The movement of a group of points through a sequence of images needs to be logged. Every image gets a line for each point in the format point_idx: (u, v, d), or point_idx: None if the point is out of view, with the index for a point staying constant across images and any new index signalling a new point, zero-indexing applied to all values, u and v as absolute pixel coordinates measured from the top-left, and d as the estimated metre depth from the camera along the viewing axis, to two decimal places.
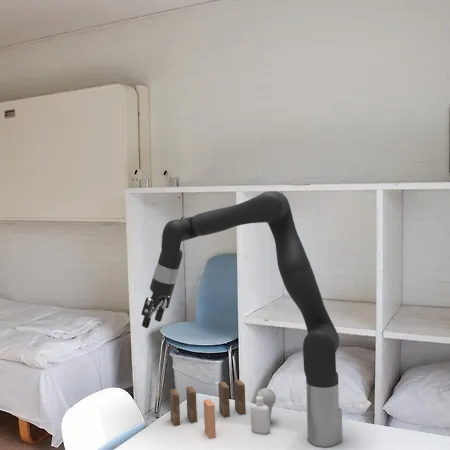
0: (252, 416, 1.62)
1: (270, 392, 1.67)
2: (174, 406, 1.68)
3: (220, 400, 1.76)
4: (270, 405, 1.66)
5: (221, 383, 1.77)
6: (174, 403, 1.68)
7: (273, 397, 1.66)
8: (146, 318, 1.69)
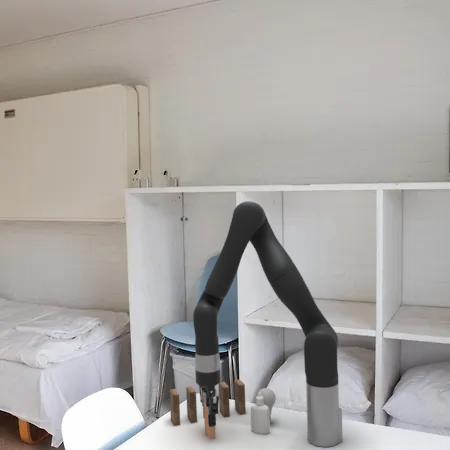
0: (252, 416, 1.62)
1: (270, 392, 1.67)
2: (174, 406, 1.68)
3: (220, 400, 1.76)
4: (270, 405, 1.66)
5: (221, 383, 1.77)
6: (174, 403, 1.68)
7: (273, 397, 1.66)
8: (213, 416, 1.58)
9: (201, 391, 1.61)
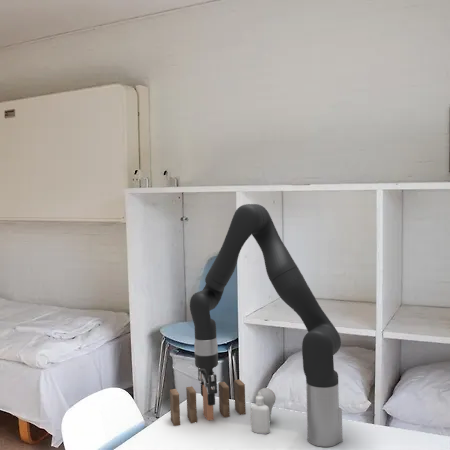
0: (252, 416, 1.62)
1: (270, 392, 1.67)
2: (174, 406, 1.68)
3: (220, 400, 1.76)
4: (270, 405, 1.66)
5: (221, 383, 1.77)
6: (174, 403, 1.68)
7: (273, 397, 1.66)
8: (212, 395, 1.69)
9: (200, 374, 1.74)
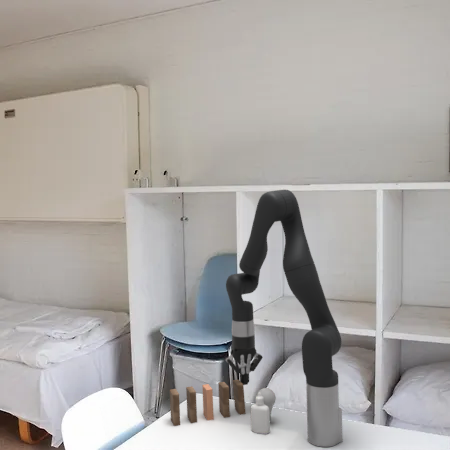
0: (252, 416, 1.62)
1: (270, 392, 1.67)
2: (174, 406, 1.68)
3: (220, 400, 1.76)
4: (270, 405, 1.66)
5: (221, 383, 1.77)
6: (174, 403, 1.68)
7: (273, 397, 1.66)
8: (240, 374, 1.77)
9: None
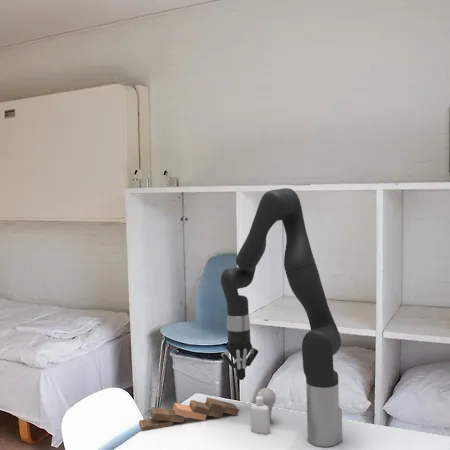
0: (252, 416, 1.62)
1: (270, 392, 1.67)
2: None
3: None
4: (270, 405, 1.66)
5: (190, 405, 1.74)
6: None
7: (273, 397, 1.66)
8: (236, 369, 1.76)
9: None
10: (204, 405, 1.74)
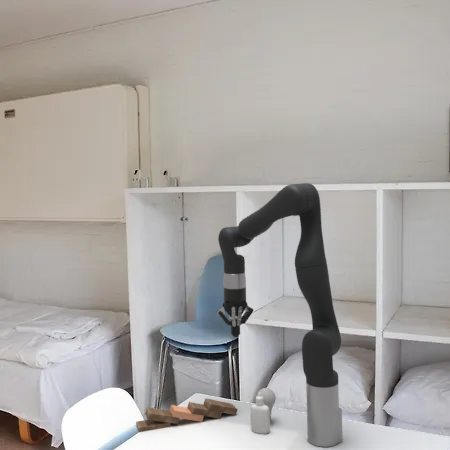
0: (252, 416, 1.62)
1: (270, 392, 1.67)
2: None
3: None
4: (270, 405, 1.66)
5: (188, 407, 1.73)
6: None
7: (273, 397, 1.66)
8: (231, 327, 1.80)
9: None
10: (202, 406, 1.73)
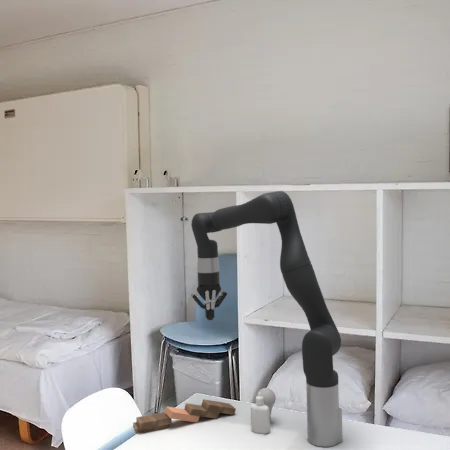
0: (252, 416, 1.62)
1: (270, 392, 1.67)
2: None
3: None
4: (270, 405, 1.66)
5: (186, 408, 1.72)
6: None
7: (273, 397, 1.66)
8: (205, 310, 1.85)
9: None
10: (200, 407, 1.73)
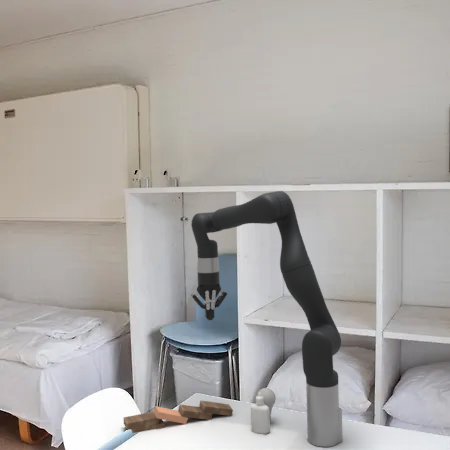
0: (252, 416, 1.62)
1: (270, 392, 1.67)
2: None
3: None
4: (270, 405, 1.66)
5: (179, 409, 1.73)
6: None
7: (273, 397, 1.66)
8: (205, 310, 1.85)
9: None
10: (193, 408, 1.73)
